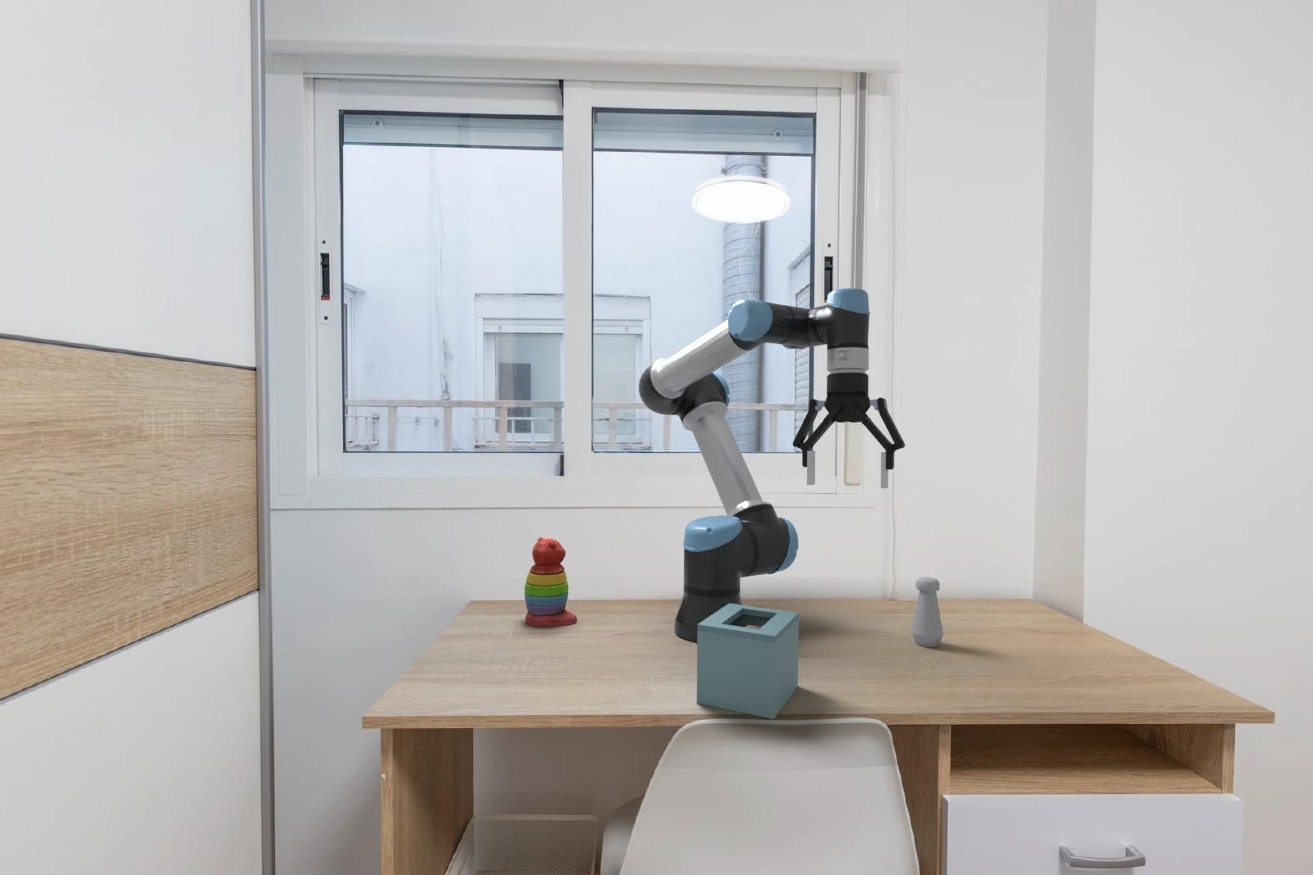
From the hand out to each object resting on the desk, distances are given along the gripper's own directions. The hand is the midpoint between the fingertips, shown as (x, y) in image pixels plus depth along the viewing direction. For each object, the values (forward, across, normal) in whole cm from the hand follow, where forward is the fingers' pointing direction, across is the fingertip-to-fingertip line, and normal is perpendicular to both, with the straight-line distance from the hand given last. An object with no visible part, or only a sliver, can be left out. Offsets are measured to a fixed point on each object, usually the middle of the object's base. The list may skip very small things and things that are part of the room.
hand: (846, 486), depth 123 cm
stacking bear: (+31, -61, -13) cm, 69 cm away
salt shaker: (+32, +12, +14) cm, 37 cm away
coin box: (+31, -8, -28) cm, 43 cm away
